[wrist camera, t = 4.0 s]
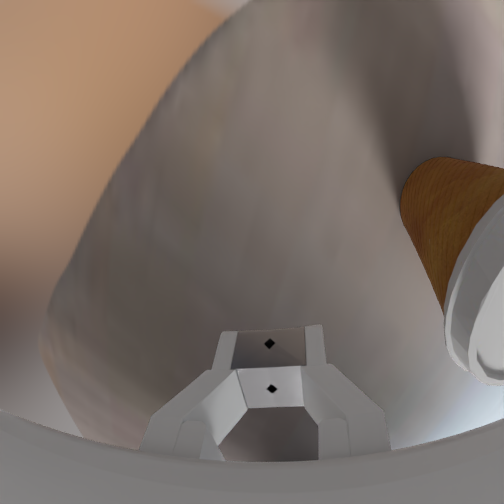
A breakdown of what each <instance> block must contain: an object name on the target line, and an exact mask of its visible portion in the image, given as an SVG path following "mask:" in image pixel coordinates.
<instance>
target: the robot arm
mask: <svg viewBox="0 0 504 504" xmlns="http://www.w3.org/2000/svg"><path fill="white" fill-rule="evenodd" d="M295 406H304V408H305V409H306V411H307V412H308V413H309V415H310V416H311V417H312V419H313V420H314V421H315V423H316V424H317V425H318V435H319V449H318V460H311V461H291V462H240V461H226V460H225V459H224V457H223V455H222V453H221V451H220V450H219V448H218V445H219V444H220V443H221V441H222V440H223V439H224V438H225V437H226V436H227V434H228V433H229V432H230V431H231V430H232V428H233V427H234V426H235V425H236V424H237V422H238V421H239V420H240V419H241V417H242V416H243V415H244V414H245V412H246V411H247V410H248V409H247V408H266V407H295ZM0 504H504V418H503V419H501V420H498V421H495V422H493V423H490V424H487V425H485V426H482V427H479V428H476V429H473V430H470V431H467V432H464V433H460V434H457V435H454V436H450V437H447V438H443V439H439V440H436V441H432V442H428V443H424V444H419V445H415V446H411V447H406V448H401V449H396V450H391V447H390V441H389V436H388V430H387V425H386V420H385V415H384V411H383V410H382V409H381V408H380V407H379V406H378V405H377V404H376V403H374V402H373V401H372V400H371V399H370V398H369V397H368V396H367V395H366V394H364V393H363V392H362V391H361V390H360V389H359V388H358V387H357V386H356V385H355V384H353V383H352V382H351V381H350V380H349V379H348V378H347V377H346V376H345V375H344V374H343V373H341V372H340V371H339V370H338V369H337V368H336V367H335V366H334V365H333V364H327V362H326V353H325V343H324V335H323V326H322V325H321V324H320V325H311V326H305V327H294V328H282V329H268V330H241V331H223V332H222V333H221V335H220V338H219V342H218V346H217V350H216V353H215V357H214V361H213V365H212V369H211V370H206V371H205V372H203V373H202V374H201V375H200V376H199V377H198V378H196V379H195V380H194V381H193V382H192V383H191V384H189V385H188V386H187V387H186V388H185V389H183V390H182V391H181V392H180V393H179V394H177V395H176V396H175V397H174V398H173V399H171V400H170V401H169V402H168V403H166V404H165V405H164V406H163V407H162V408H160V409H159V410H158V411H157V412H155V413H154V414H153V415H152V416H151V418H150V421H149V424H148V427H147V429H146V432H145V435H144V437H143V440H142V443H141V446H140V448H139V451H138V450H133V449H128V448H123V447H118V446H114V445H109V444H105V443H101V442H97V441H93V440H89V439H85V438H82V437H78V436H74V435H71V434H68V433H64V432H61V431H58V430H55V429H52V428H49V427H46V426H43V425H40V424H37V423H35V422H32V421H29V420H26V419H24V418H21V417H19V416H16V415H14V414H11V413H9V412H6V411H4V410H2V409H0Z"/></svg>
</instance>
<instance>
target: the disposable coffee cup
mask: <svg viewBox="0 0 504 504" xmlns="http://www.w3.org/2000/svg"><path fill="white" fill-rule="evenodd" d="M400 212H401V218H402V221H403V224H404V226H405V228H406V230H407V232H408V234H409V236H410V238H411V240H412V242H413V244H414V246H415V248H416V251H417V253H418V255H419V257H420V259H421V262H422V264H423V266H424V268H425V270H426V273H427V275H428V277H429V279H430V281H431V284H432V286H433V289H434V292H435V294H436V297H437V299H438V301H439V303H440V306H441V309H442V311H443V314H444V333H445V344H446V346H447V349H448V351H449V354H450V356H451V358H452V359H453V361H454V362H455V363H456V364H457V366H459V367H460V368H462V369H463V370H465V371H467V372H471V374H472V375H473V376H474V377H475V378H476V379H477V380H478V381H480V382H482V383H484V384H486V385H493V386H503V385H504V169H503V168H499V167H494V166H489V165H486V164H480V163H475V162H470V161H464V160H459V159H454V158H449V157H437V158H432V159H430V160H428V161H425V162H424V163H422V164H421V165H419V166H418V167H417V168H416V169H415V170H414V171H413V172H412V173H411V175H410V177H409V178H408V180H407V181H406V183H405V186H404V188H403V191H402V196H401V200H400Z"/></svg>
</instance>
